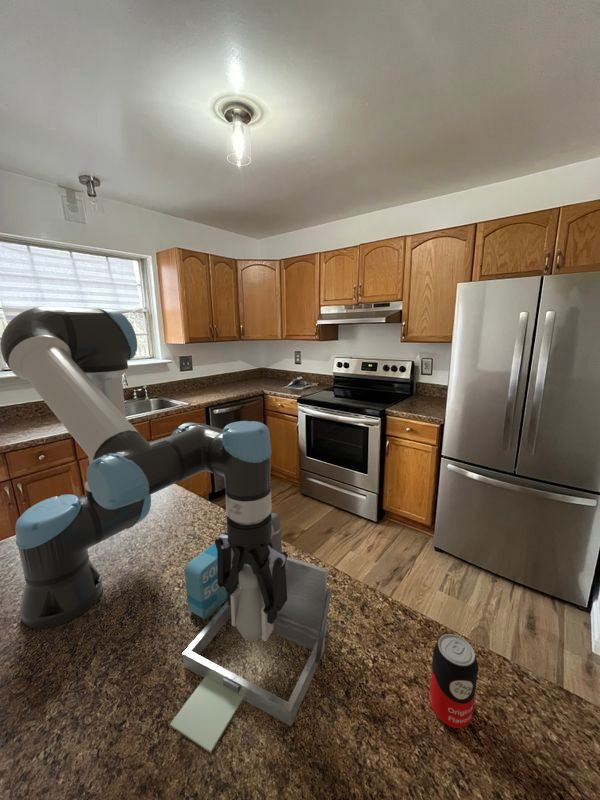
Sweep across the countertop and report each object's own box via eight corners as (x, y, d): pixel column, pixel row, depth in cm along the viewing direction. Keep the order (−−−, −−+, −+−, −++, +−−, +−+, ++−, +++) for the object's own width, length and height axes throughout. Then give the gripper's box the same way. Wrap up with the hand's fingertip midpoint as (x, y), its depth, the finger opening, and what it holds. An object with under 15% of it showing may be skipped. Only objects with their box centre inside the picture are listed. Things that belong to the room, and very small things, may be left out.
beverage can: (421, 709, 55) (427, 648, 52) (438, 681, 59) (444, 623, 56) (462, 743, 50) (470, 678, 48) (477, 710, 54) (485, 648, 52)
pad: (170, 725, 53) (169, 724, 53) (205, 678, 60) (205, 676, 60) (210, 753, 49) (210, 751, 49) (242, 699, 56) (242, 697, 56)
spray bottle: (269, 583, 82) (267, 507, 78) (287, 589, 80) (285, 512, 75) (258, 597, 78) (255, 518, 73) (276, 604, 75) (274, 523, 71)
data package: (202, 623, 71) (198, 573, 68) (188, 613, 73) (183, 565, 71) (240, 586, 81) (238, 541, 78) (226, 579, 83) (223, 535, 81)
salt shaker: (253, 612, 66) (252, 554, 63) (274, 629, 63) (274, 568, 60) (229, 633, 62) (227, 571, 59) (251, 652, 58) (249, 587, 55)
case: (181, 669, 61) (173, 588, 58) (233, 606, 75) (229, 538, 71) (295, 733, 52) (294, 641, 48) (331, 647, 65) (332, 570, 62)
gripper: (190, 510, 58) (198, 623, 63) (288, 541, 50) (288, 667, 55) (218, 491, 64) (224, 594, 69) (309, 516, 56) (307, 630, 61)
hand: (252, 626), depth 62 cm, fingers closed on salt shaker, 6 cm apart
